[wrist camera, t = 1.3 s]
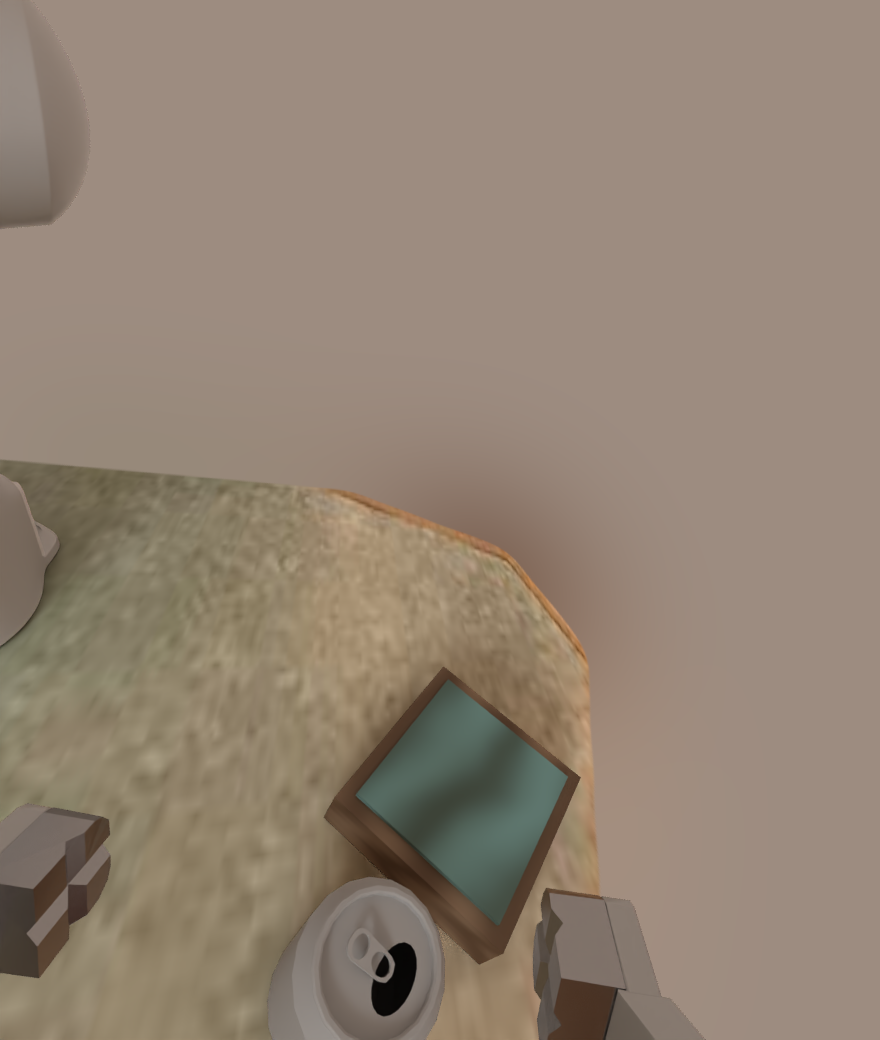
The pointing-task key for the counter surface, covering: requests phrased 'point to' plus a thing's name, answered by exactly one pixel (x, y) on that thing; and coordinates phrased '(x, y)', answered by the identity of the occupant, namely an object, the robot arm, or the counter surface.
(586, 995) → the robot arm
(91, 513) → the counter surface
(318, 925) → the can
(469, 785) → the plinth
